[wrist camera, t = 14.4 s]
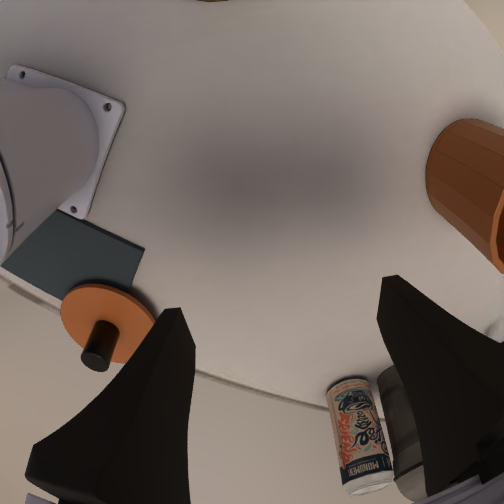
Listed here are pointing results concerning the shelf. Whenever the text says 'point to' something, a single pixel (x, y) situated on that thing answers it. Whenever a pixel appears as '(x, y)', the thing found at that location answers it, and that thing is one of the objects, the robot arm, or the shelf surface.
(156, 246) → the shelf surface
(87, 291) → the lid
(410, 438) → the beverage cup
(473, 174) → the terracotta cup
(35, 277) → the felt mat
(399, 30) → the shelf surface
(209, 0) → the pepper shaker
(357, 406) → the beer can
